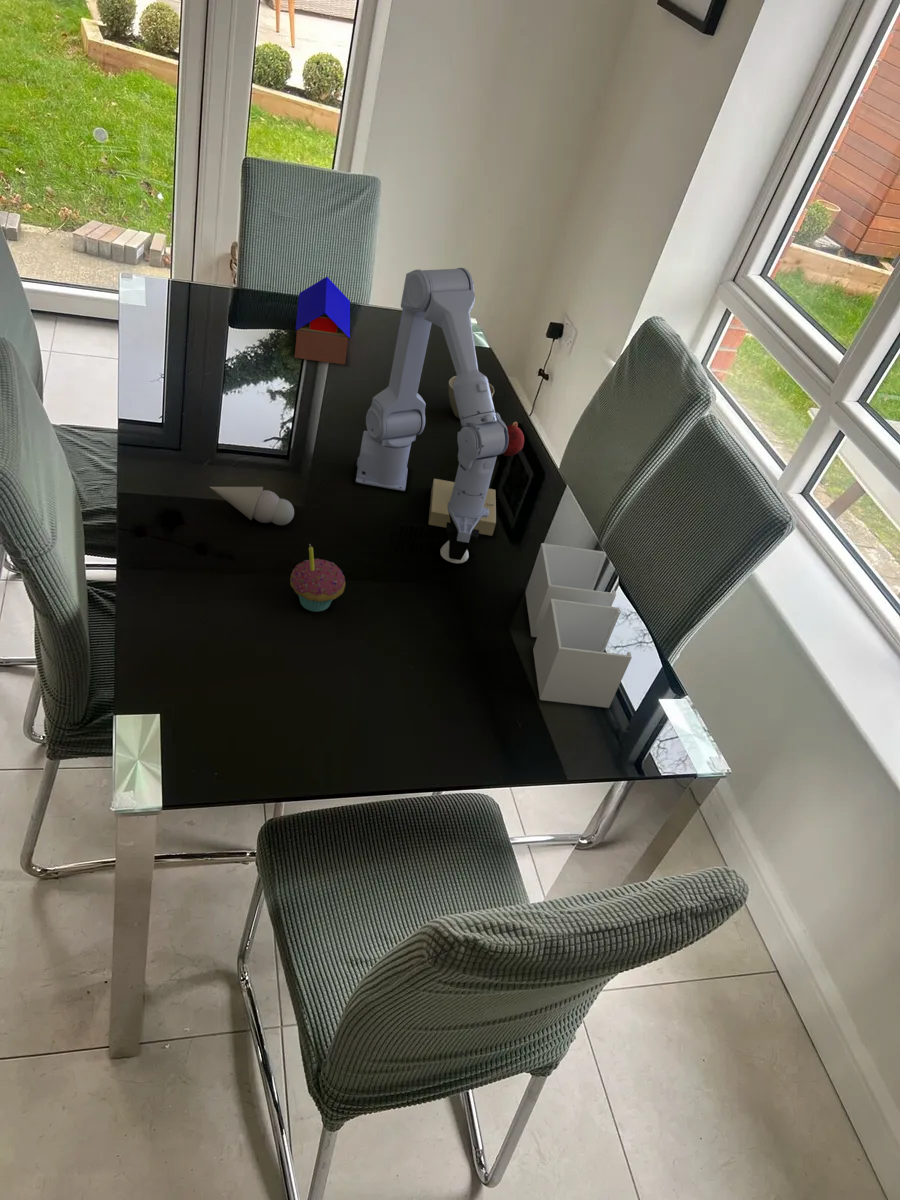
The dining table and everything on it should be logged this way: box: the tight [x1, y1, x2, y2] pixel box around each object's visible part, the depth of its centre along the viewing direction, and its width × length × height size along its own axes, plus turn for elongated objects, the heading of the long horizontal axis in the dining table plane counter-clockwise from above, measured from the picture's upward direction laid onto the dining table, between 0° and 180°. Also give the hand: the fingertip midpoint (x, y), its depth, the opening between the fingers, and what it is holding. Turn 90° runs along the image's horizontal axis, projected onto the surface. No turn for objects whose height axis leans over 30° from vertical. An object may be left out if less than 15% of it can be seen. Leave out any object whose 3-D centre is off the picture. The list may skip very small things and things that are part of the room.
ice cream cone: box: [209, 486, 295, 526], centre depth 156 cm, size 6×6×15 cm
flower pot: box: [447, 375, 495, 420], centre depth 198 cm, size 10×10×7 cm
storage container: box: [525, 542, 632, 709], centre depth 145 cm, size 25×11×11 cm, turn 2°
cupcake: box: [289, 543, 346, 612], centre depth 141 cm, size 9×8×12 cm
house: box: [294, 276, 351, 366], centre depth 209 cm, size 12×20×12 cm, turn 5°
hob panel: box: [427, 478, 497, 537], centre depth 171 cm, size 12×11×3 cm
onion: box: [501, 421, 525, 458], centre depth 188 cm, size 6×6×8 cm
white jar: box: [439, 540, 470, 564], centre depth 160 cm, size 5×3×5 cm
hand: (455, 549), depth 160 cm, fingers open, 4 cm apart
